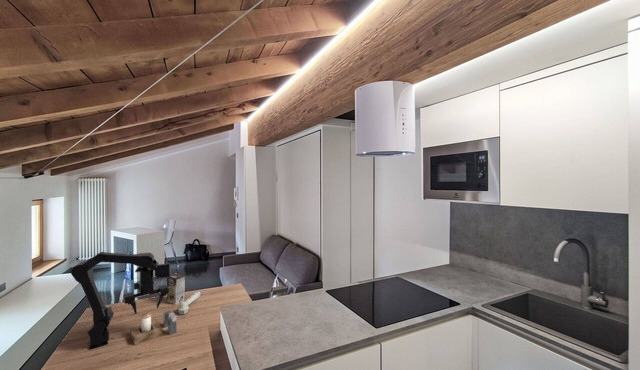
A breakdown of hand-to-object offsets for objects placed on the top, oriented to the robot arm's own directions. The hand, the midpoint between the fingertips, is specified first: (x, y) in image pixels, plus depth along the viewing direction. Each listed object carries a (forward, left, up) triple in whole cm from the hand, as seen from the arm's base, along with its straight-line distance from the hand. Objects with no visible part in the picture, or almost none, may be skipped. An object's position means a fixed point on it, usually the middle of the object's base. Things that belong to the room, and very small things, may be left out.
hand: (146, 310), depth 136 cm
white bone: (+27, +20, -12) cm, 36 cm away
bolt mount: (+10, -2, -12) cm, 16 cm away
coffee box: (+22, +31, -12) cm, 40 cm away
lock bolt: (+10, -7, -5) cm, 13 cm away
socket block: (0, 0, -12) cm, 12 cm away
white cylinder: (0, 0, -12) cm, 12 cm away
